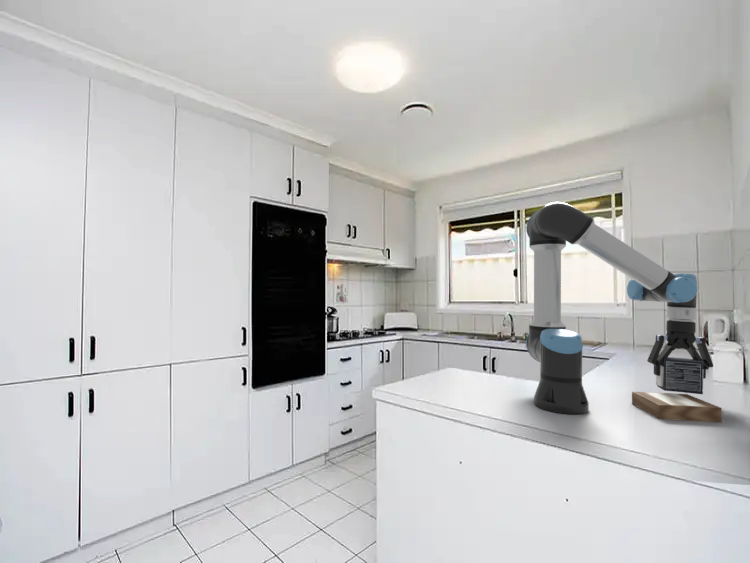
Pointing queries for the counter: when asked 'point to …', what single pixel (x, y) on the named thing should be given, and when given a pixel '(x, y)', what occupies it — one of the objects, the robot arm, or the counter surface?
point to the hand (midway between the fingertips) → (678, 386)
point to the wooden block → (676, 407)
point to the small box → (682, 375)
